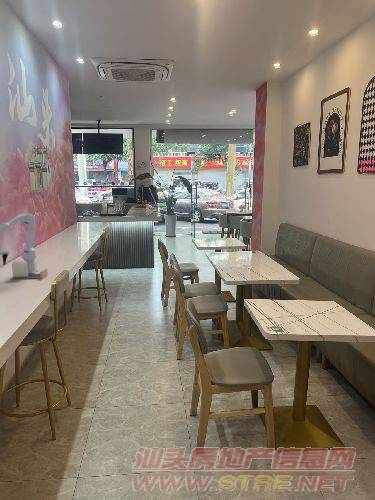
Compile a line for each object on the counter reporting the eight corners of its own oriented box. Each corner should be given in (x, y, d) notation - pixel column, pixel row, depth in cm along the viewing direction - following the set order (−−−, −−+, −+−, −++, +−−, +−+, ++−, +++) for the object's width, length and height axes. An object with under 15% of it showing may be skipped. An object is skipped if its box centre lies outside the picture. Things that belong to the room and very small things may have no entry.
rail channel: (18, 275, 284) (17, 269, 283) (47, 275, 284) (47, 268, 283) (12, 279, 274) (11, 272, 273) (42, 278, 274) (42, 271, 273)
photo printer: (12, 278, 276) (10, 261, 274) (14, 277, 281) (12, 260, 278) (27, 278, 277) (25, 261, 275) (29, 276, 282) (27, 259, 279)
